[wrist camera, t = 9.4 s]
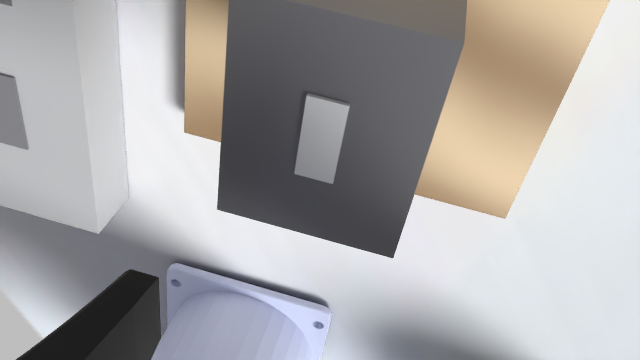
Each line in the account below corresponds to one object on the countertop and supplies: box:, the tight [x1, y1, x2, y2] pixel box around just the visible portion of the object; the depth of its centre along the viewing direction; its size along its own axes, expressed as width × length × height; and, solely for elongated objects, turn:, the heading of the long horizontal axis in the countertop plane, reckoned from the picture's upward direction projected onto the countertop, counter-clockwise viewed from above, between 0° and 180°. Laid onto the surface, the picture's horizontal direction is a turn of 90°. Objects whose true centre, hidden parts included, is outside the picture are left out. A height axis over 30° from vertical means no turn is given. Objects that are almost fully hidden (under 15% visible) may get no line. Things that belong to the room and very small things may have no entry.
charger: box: [217, 0, 467, 258], centre depth 14 cm, size 5×4×8 cm
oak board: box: [184, 0, 610, 218], centre depth 17 cm, size 12×12×1 cm
